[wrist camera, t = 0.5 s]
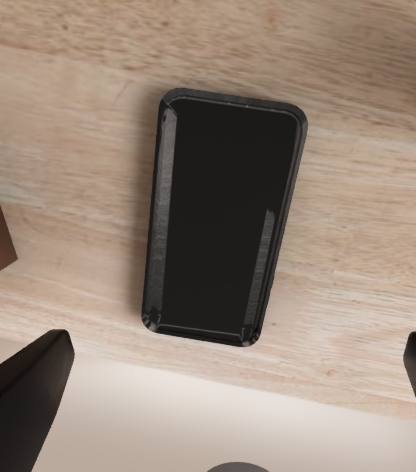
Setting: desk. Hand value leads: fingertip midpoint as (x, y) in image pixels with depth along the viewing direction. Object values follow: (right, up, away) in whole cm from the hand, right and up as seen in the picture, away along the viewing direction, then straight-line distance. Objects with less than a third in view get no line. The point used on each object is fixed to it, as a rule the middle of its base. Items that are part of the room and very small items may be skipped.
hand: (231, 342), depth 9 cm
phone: (0, +3, +12) cm, 12 cm away
